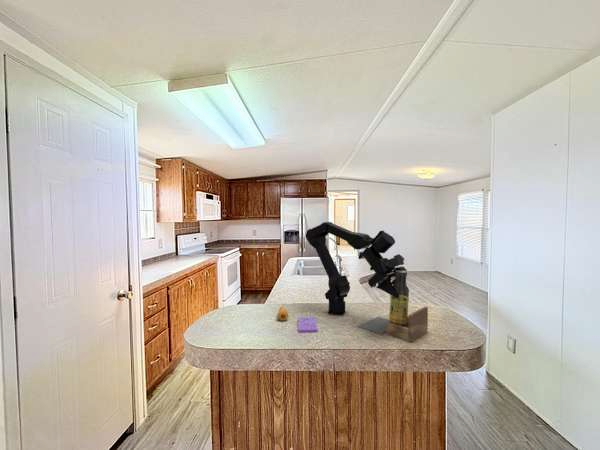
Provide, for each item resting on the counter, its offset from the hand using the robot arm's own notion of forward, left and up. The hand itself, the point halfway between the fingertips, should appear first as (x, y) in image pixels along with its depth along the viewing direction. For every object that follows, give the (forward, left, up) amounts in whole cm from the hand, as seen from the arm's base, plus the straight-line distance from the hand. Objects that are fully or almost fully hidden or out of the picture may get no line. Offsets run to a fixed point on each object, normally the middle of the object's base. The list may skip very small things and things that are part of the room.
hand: (402, 295), depth 108 cm
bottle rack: (+1, 0, -13) cm, 13 cm away
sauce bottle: (-1, +1, -11) cm, 11 cm away
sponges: (-34, -1, -14) cm, 37 cm away
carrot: (-47, +11, -13) cm, 50 cm away
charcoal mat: (-8, +5, -13) cm, 16 cm away
